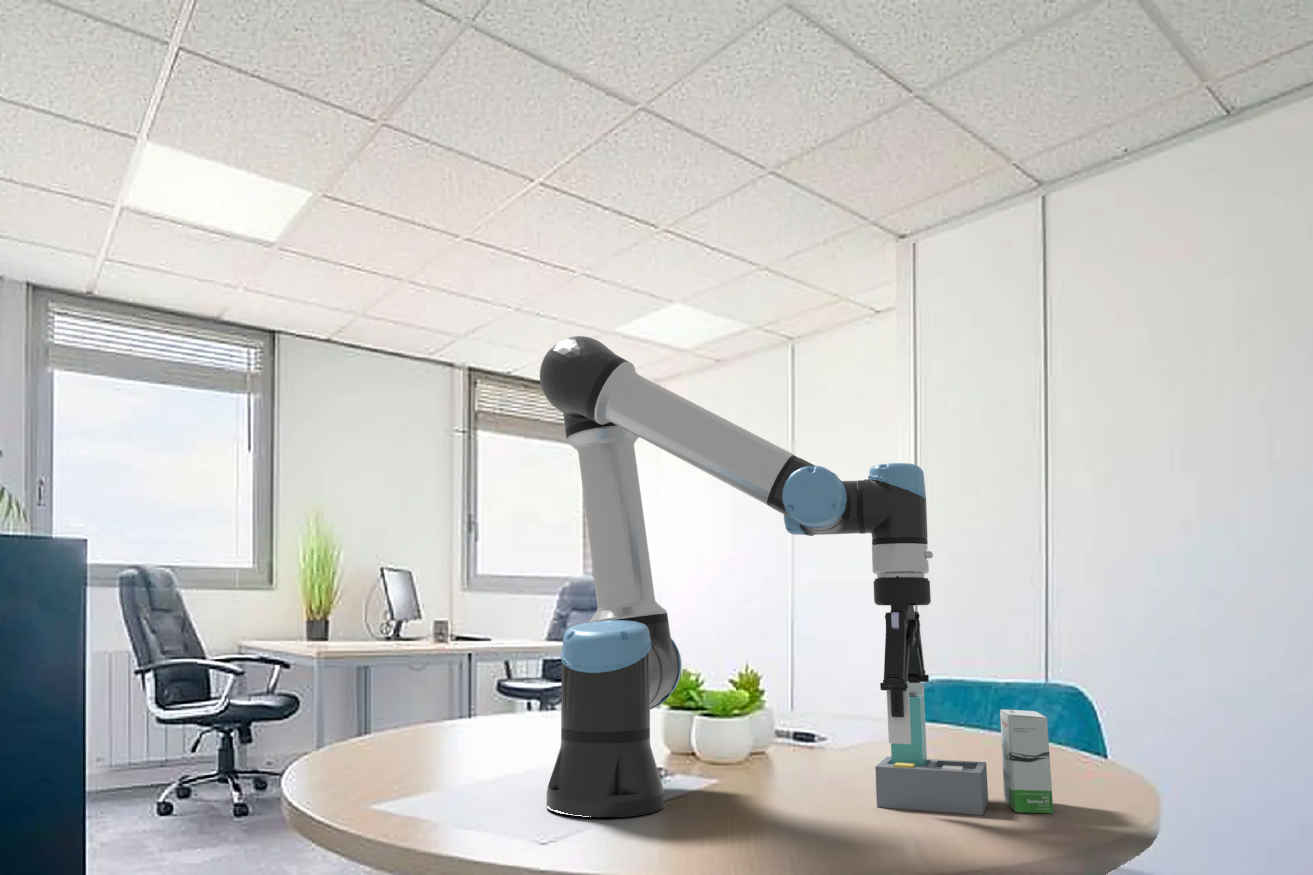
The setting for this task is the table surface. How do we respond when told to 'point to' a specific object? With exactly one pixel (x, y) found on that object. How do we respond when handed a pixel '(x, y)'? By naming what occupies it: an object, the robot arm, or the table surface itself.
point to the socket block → (933, 786)
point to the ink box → (1026, 761)
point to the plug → (913, 735)
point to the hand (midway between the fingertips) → (908, 737)
